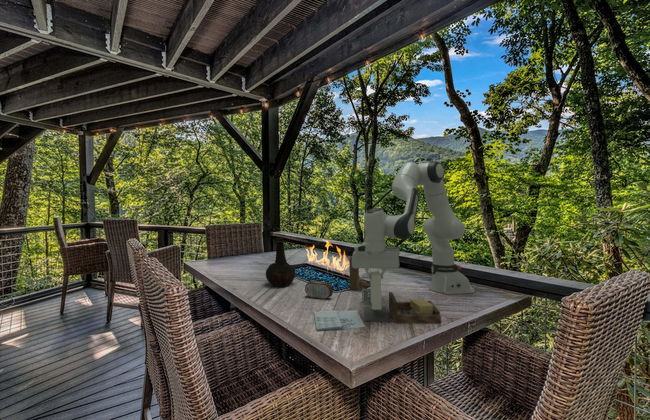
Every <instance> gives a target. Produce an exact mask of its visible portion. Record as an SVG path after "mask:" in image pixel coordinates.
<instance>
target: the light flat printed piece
mask: <svg viewBox="0 0 650 420" xmlns="http://www.w3.org/2000/svg"><path fill="white" fill-rule="evenodd" d="M313 314H314V315H313V316H314V321H315V328H316V331H317V332H321V331H331V330H334V331H335V330H344V331H345V330H350V329H351V330H352V329H364V328H366V325H365V324H364V321H363V320H362V318H361V316H360V312H359V310H358V309H355V310H353V309H352V310H342V311H340V310H339V311H338V310H324V311H323V310H321V311H320V310H319V311H313Z"/></svg>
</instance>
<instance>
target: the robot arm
mask: <svg viewBox="0 0 650 420" xmlns="http://www.w3.org/2000/svg"><path fill="white" fill-rule="evenodd" d="M444 175H445V169H444V166H443V165H442V163H441V162H440V161H436V160H432V161H427V162H420V163H415V162H413V161H408V162H405V163H403V164H402V166H401V167H400V168H399V170H398V172H397V173H396V175H395V177H394V179H393V181H392V183H391V190H392V192H393V195H394V196H396V197H397V198H398V199H399V200H401V201H405V206H404V207H405V208H404V211H403V214H400V215H389V214H387V213H385V212H384V209H383V208H379V207H378V208H377V207H375V208H369V209H368V210H366V211H365V215H364V222H363V223H364V227H363V228H364V229H363V231H364V234H365V236H364V241H363V242H360V243H357V244H355V245H354V248H353V249H354V251H353V253H352V256H351V257H352V267H353V268H359V269H365V273H367V274H368V278H367V279H369V280H370V279H371V278H372V277H371V274H369V272H370V269H381V273H380V275H381V280H382V279H384V275H385V272H386V270H387V269H398V268H399V267H400V259H399V256H400V248H399V247H398V246H395V245H393V246H389V245H386V238H395V239H399V240H408V239H410V237H412V236H413V235H414V234H415V229H416V218H417V212H418V207H419V201H420V192H419V190H418V188H417V186H423V194H424V199H425V202H426V207H427V211H429V212H430V213H431V214H432V215H433V217H431V218H426V219H425V220H424V222H423V224H422V225H423V226H422V228H423V231H424V233H425V234H426V235H427V237H428V239H429V242H430V246H431V251H432V254H431V255H432V262H431V281H430V286H429V290H431V291H433V292H436V293H442V294H445V295H462V294H463V295H464V294H474V293H476V292H475V289H474V287H472V286H471V284H470V283H471V282H470V280H469V279H468V277H466V276H465V275H464V274H463V273H461V272H460V271H461V270H462V266H460V265H457V264H456V263H455V250H454V248H453V246H452V245H451V244H450V242H449V240H458V239H462V237H463V236H464V234H465V232H466V228H465V224H464V223H463V222H462V220H460V219H459V218H458V217H457V216H456V214H455V213H454V211H453V209H452V208H451V205H450V202H449V201H450V200H449V196H448V193H447V188H446V185H445V181H444V180H443V178H444Z"/></svg>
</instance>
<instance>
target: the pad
mask: <svg viewBox="0 0 650 420" xmlns="http://www.w3.org/2000/svg"><path fill="white" fill-rule="evenodd" d="M363 314H364V315H363V316H364V320H365V322H367V323H368V322H371V323H372V322H375V323H377V322H378V323H379V322H382V323H383V322H384V323H385V322H387V323H389V322H391V319H390V316H389V313H388V311H387V308H386V307H385V308H382V307H381V309H373V308H370V307H363Z"/></svg>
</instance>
